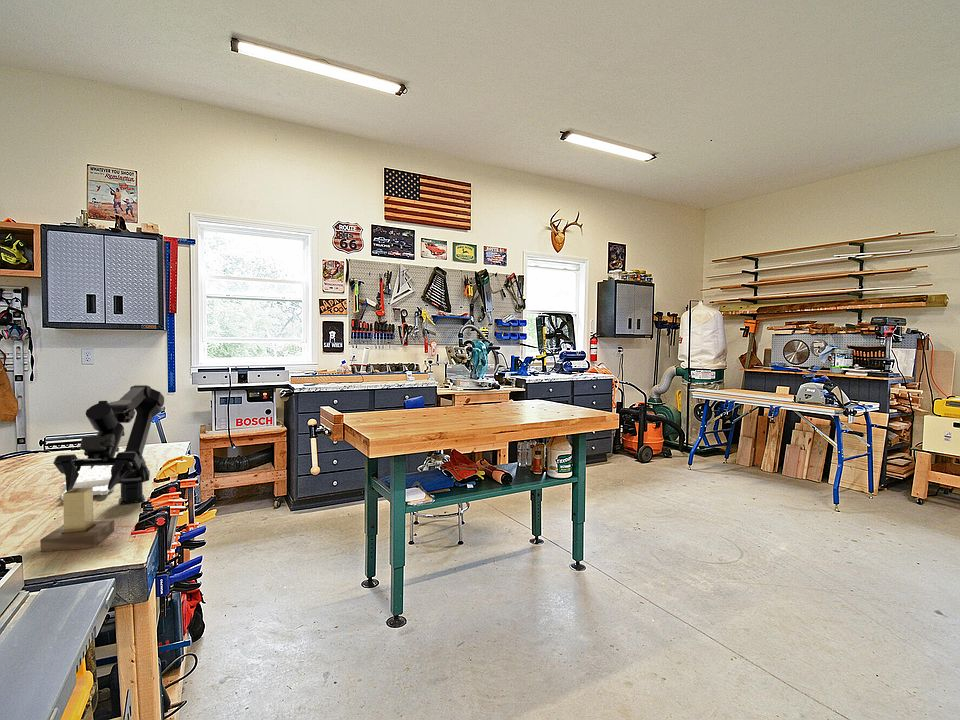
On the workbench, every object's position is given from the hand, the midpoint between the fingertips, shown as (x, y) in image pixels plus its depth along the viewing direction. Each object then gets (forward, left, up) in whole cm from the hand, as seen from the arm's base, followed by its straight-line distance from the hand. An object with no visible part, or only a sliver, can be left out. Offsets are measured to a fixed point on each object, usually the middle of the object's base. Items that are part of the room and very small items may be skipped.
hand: (88, 490), depth 129 cm
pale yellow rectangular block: (+5, -2, -11) cm, 13 cm away
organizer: (-51, 0, -12) cm, 52 cm away
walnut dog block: (+5, -2, -11) cm, 13 cm away
